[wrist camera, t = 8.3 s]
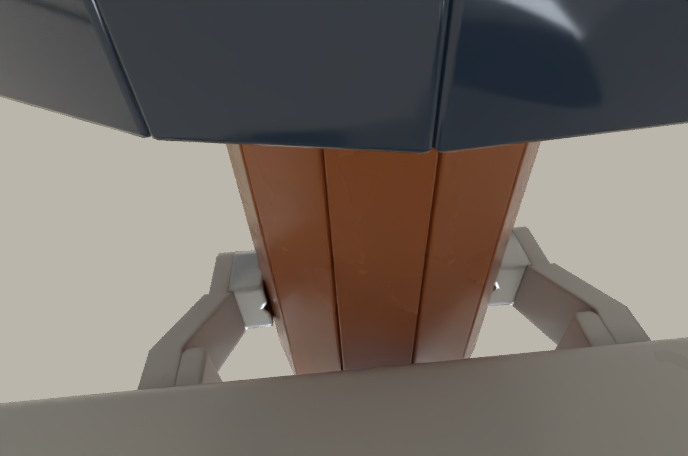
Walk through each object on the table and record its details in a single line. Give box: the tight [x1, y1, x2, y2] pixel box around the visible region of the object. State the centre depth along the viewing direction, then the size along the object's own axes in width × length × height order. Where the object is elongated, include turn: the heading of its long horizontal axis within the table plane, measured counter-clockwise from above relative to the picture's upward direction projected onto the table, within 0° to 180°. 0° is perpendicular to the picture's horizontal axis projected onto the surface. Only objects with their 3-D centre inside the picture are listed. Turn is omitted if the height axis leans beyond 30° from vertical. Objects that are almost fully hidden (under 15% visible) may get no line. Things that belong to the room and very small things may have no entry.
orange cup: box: [226, 141, 541, 375], centre depth 10 cm, size 6×6×12 cm
